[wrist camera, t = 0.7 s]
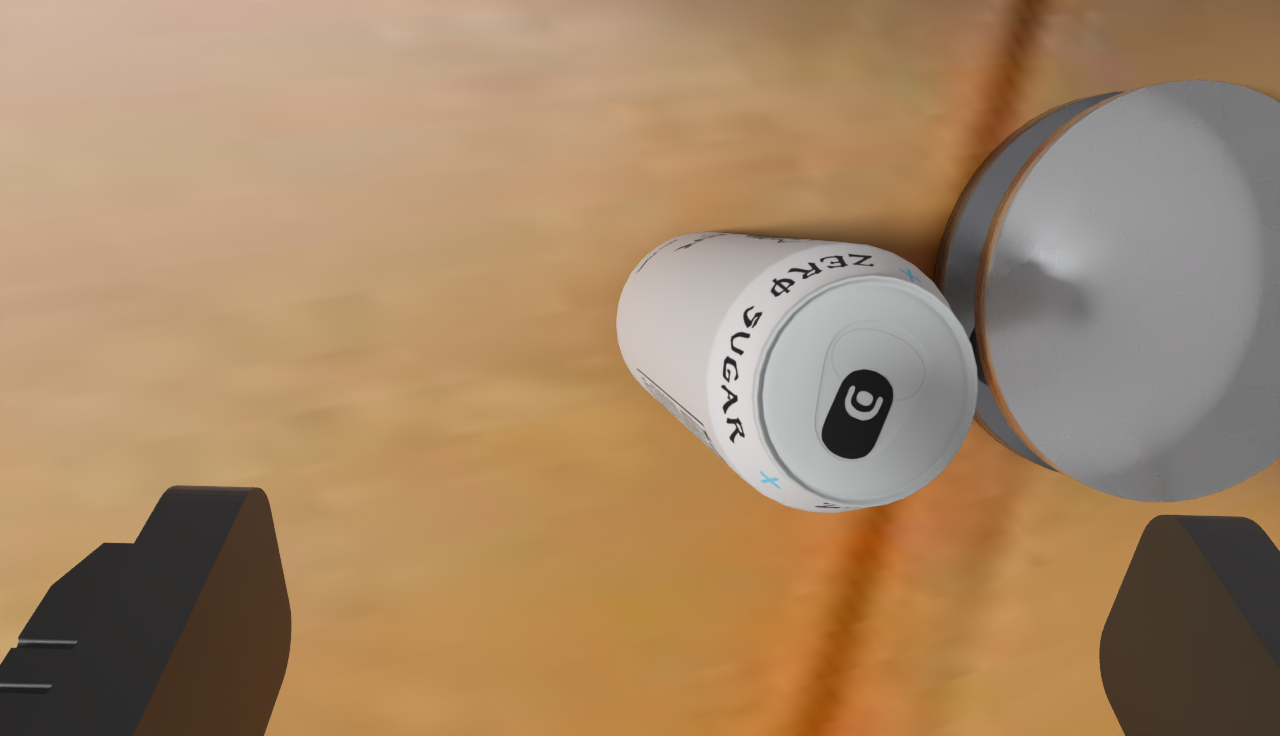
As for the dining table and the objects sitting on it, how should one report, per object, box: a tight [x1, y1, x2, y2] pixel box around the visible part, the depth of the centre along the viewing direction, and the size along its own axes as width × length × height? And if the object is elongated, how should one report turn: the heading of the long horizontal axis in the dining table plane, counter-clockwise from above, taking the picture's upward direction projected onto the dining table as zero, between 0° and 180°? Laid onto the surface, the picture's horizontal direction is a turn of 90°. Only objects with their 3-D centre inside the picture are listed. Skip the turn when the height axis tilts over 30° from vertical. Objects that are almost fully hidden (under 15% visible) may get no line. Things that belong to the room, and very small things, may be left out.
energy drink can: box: [616, 232, 978, 513], centre depth 28 cm, size 6×6×15 cm
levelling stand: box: [934, 80, 1280, 502], centre depth 36 cm, size 14×14×4 cm
